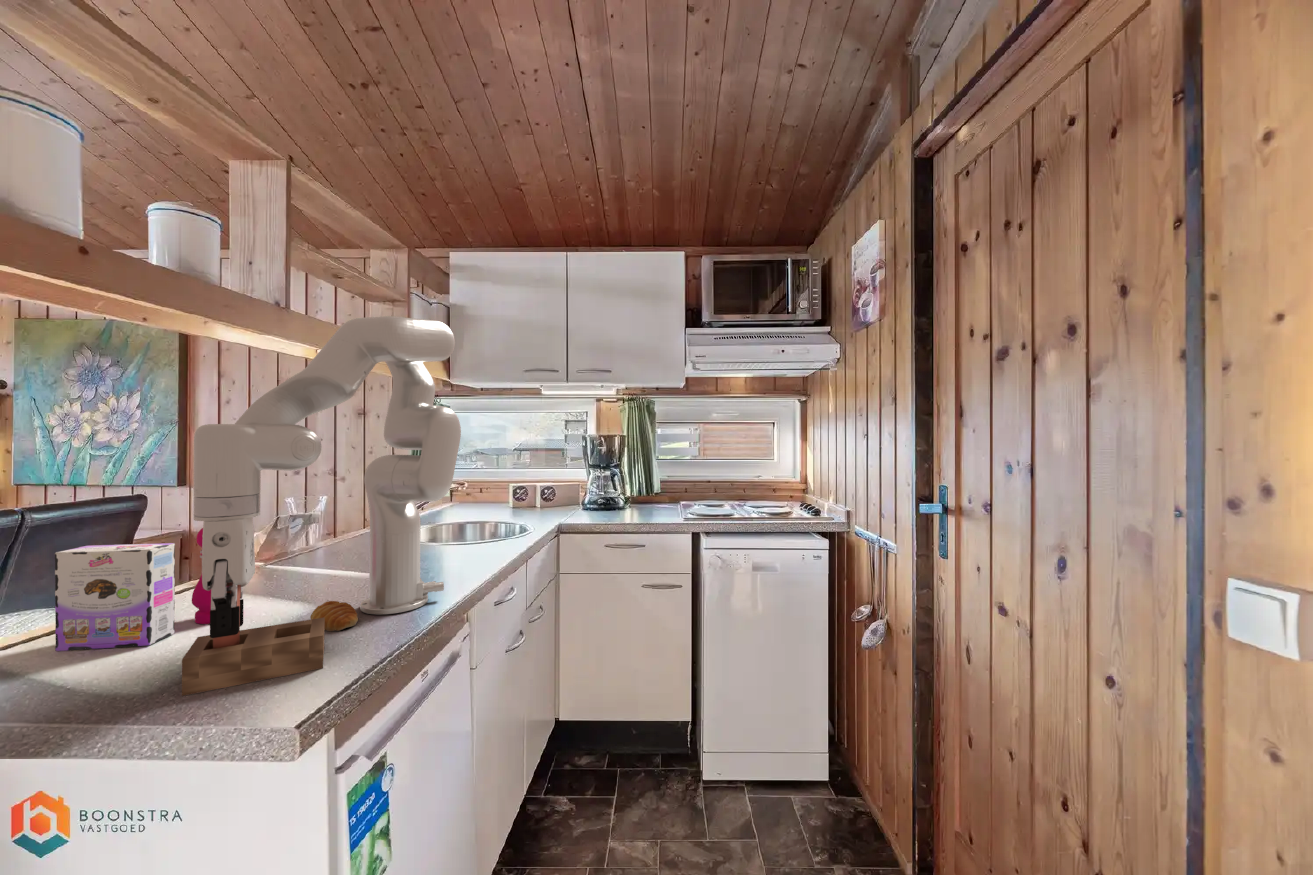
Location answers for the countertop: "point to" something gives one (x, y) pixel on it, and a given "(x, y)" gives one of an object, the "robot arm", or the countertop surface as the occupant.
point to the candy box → (114, 595)
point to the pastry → (336, 615)
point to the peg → (230, 639)
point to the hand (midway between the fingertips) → (227, 630)
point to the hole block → (254, 656)
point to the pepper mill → (201, 594)
